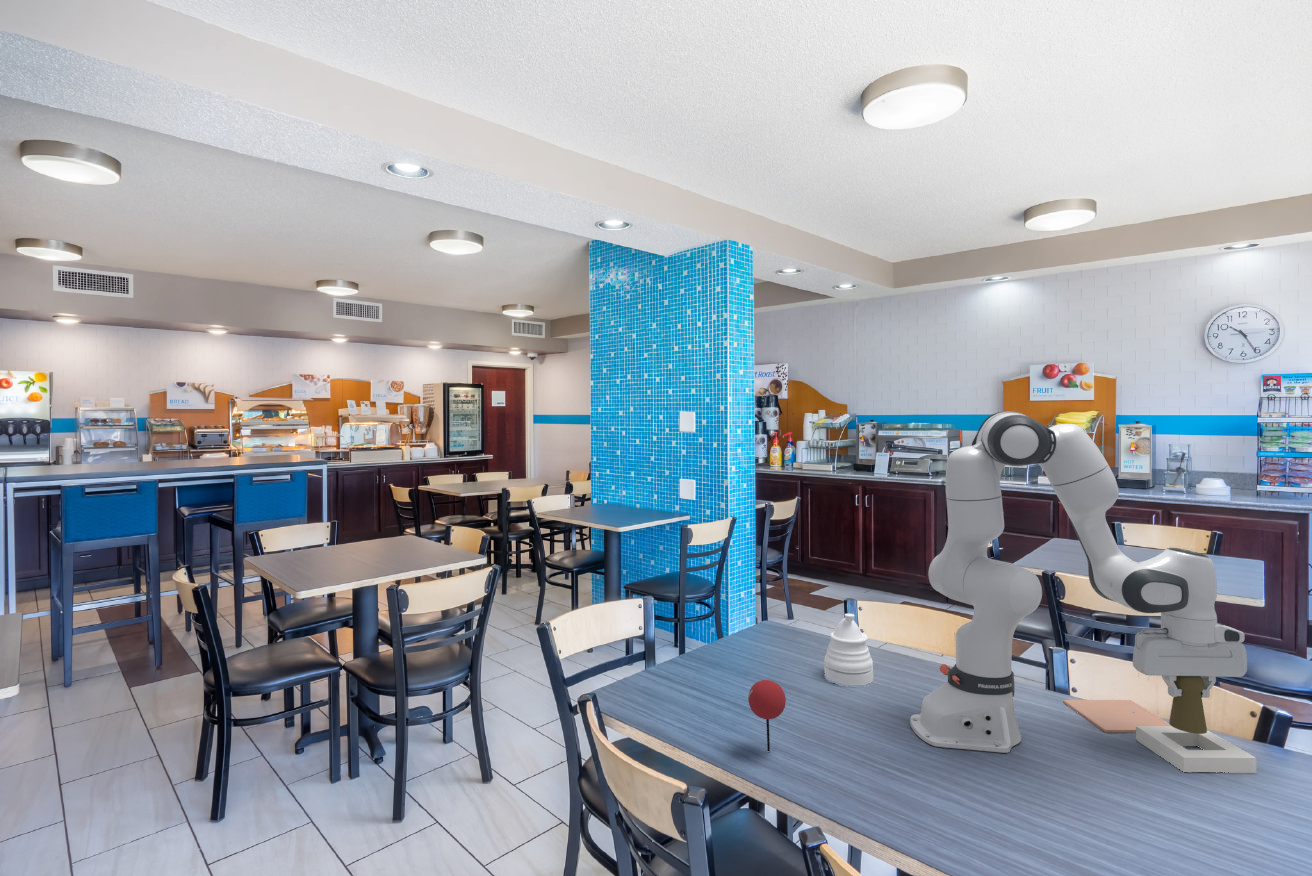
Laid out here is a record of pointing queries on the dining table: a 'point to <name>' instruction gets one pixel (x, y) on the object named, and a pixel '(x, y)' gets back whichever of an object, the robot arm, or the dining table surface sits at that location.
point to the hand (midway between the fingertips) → (1188, 696)
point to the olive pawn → (1189, 706)
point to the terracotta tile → (1115, 715)
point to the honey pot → (848, 655)
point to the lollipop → (767, 701)
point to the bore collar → (1211, 759)
